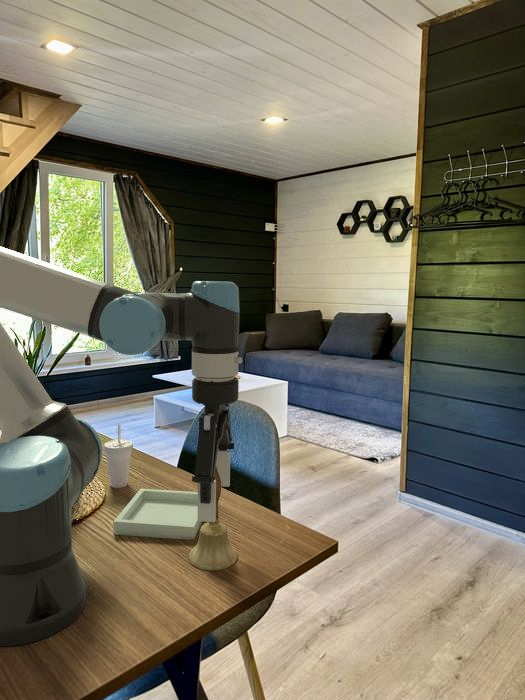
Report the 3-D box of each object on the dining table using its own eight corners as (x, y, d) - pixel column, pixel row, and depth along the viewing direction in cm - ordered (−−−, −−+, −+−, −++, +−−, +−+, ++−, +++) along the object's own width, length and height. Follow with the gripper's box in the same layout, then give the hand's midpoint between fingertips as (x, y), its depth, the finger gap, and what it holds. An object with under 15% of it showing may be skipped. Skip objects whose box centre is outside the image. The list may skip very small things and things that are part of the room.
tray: (193, 540, 91) (194, 527, 91) (113, 534, 93) (113, 521, 92) (210, 504, 106) (210, 492, 106) (140, 499, 108) (140, 488, 107)
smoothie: (137, 480, 118) (136, 421, 116) (127, 491, 112) (126, 429, 110) (110, 478, 119) (109, 420, 117) (99, 489, 112) (98, 428, 110)
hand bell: (230, 574, 81) (232, 479, 79) (181, 567, 83) (181, 473, 81) (242, 547, 89) (244, 461, 87) (197, 542, 91) (198, 456, 89)
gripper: (225, 394, 69) (224, 540, 72) (247, 365, 94) (246, 474, 97) (171, 392, 70) (173, 537, 73) (208, 364, 95) (207, 472, 97)
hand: (214, 501), depth 85 cm, fingers open, 13 cm apart
